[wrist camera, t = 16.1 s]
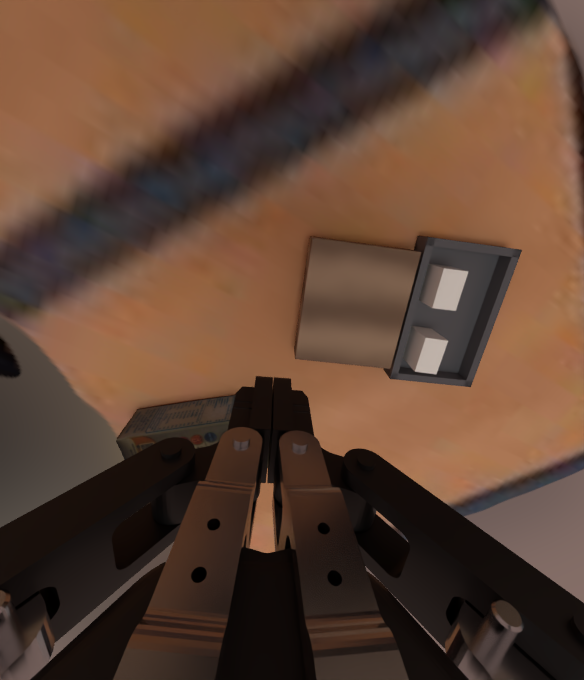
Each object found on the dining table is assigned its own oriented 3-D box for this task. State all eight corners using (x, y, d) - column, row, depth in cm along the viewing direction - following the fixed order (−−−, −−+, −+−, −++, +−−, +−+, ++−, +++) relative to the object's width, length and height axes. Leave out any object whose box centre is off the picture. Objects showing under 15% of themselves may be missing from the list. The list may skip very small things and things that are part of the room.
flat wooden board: (309, 236, 33) (312, 237, 30) (409, 249, 34) (421, 252, 31) (294, 348, 38) (295, 358, 35) (382, 358, 38) (390, 368, 36)
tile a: (443, 268, 30) (468, 271, 30) (426, 263, 34) (448, 265, 34) (432, 308, 32) (455, 310, 32) (416, 298, 35) (437, 301, 35)
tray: (417, 235, 33) (428, 237, 31) (505, 247, 34) (522, 249, 32) (383, 369, 39) (390, 378, 37) (459, 377, 40) (470, 386, 37)
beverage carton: (290, 436, 43) (291, 472, 36) (153, 455, 43) (131, 494, 37) (281, 385, 40) (281, 416, 34) (134, 406, 40) (107, 440, 34)
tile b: (425, 337, 33) (448, 340, 33) (411, 325, 36) (431, 328, 37) (414, 371, 34) (436, 374, 34) (401, 356, 38) (421, 359, 38)
